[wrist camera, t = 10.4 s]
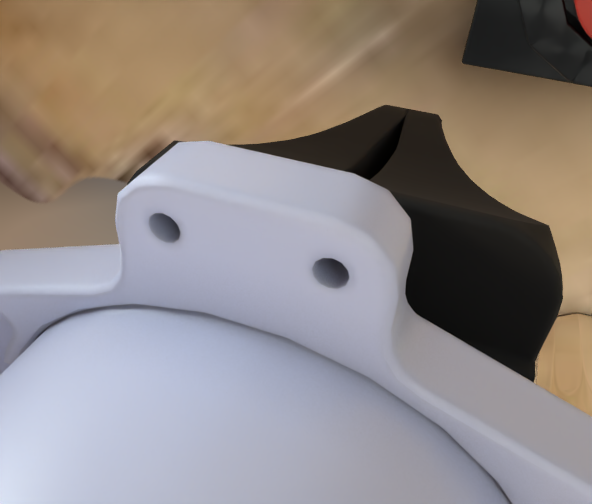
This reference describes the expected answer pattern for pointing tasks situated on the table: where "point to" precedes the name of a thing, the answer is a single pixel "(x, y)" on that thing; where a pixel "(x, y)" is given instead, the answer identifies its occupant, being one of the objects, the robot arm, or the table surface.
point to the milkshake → (568, 361)
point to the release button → (585, 14)
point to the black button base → (530, 39)
